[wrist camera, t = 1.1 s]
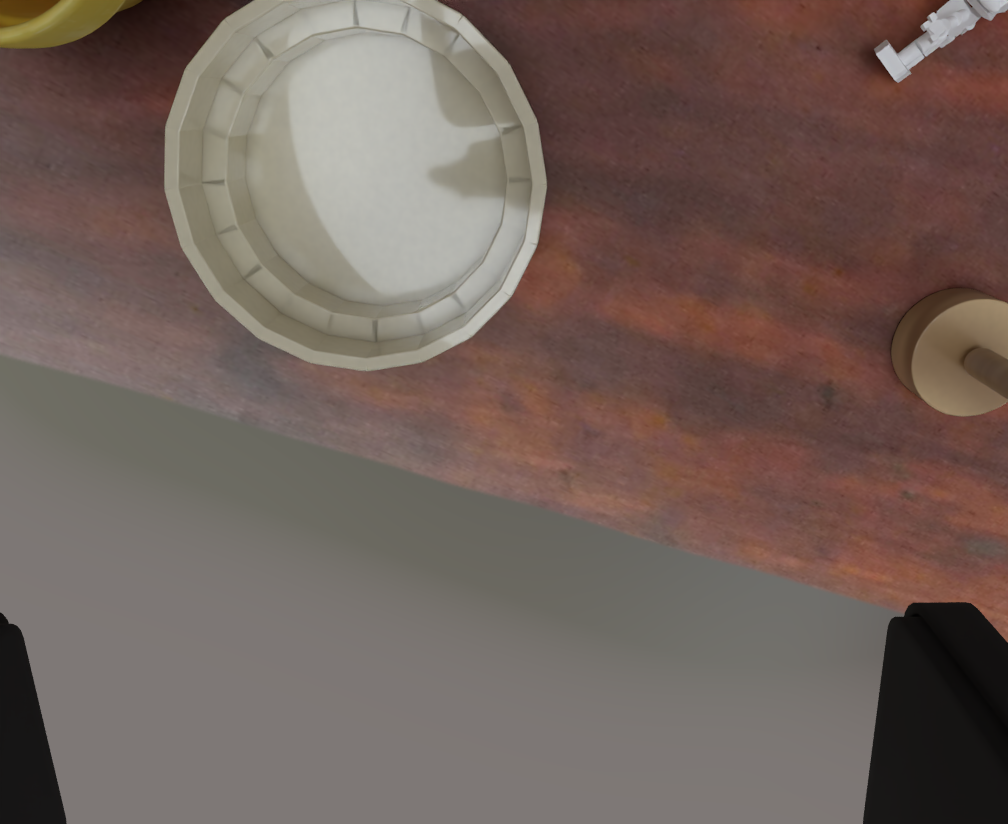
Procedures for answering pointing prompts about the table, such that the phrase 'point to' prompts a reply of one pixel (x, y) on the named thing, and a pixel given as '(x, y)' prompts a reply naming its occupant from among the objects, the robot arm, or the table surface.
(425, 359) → the bowl
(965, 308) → the rod on round base
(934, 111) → the table surface
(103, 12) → the flower pot
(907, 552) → the table surface
